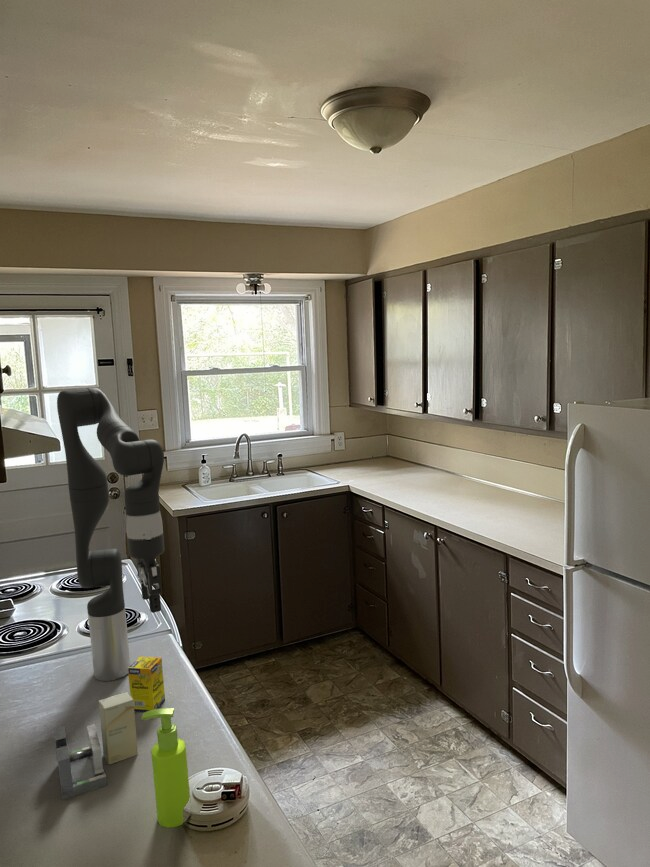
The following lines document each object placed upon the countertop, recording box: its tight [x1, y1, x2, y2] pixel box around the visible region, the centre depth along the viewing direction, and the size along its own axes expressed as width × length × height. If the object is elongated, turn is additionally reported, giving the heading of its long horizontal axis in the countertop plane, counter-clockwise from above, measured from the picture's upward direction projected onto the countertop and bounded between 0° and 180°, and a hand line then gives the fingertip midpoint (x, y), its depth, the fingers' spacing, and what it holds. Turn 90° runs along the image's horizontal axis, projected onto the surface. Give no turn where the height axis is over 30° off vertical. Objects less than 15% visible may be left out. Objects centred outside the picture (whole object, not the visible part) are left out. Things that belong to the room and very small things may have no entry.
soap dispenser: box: [141, 707, 191, 829], centre depth 113 cm, size 6×7×20 cm
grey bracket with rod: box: [53, 726, 108, 800], centre depth 127 cm, size 12×8×8 cm, turn 27°
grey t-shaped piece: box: [69, 723, 104, 777], centre depth 127 cm, size 10×8×6 cm
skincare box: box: [98, 691, 139, 765], centre depth 133 cm, size 6×4×12 cm
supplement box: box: [127, 656, 166, 713], centre depth 151 cm, size 6×6×11 cm
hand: (151, 604), depth 140 cm, fingers open, 8 cm apart
